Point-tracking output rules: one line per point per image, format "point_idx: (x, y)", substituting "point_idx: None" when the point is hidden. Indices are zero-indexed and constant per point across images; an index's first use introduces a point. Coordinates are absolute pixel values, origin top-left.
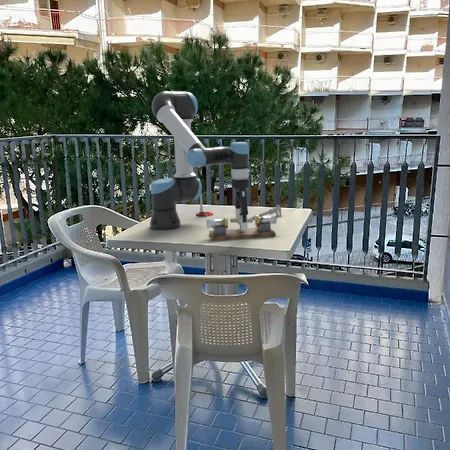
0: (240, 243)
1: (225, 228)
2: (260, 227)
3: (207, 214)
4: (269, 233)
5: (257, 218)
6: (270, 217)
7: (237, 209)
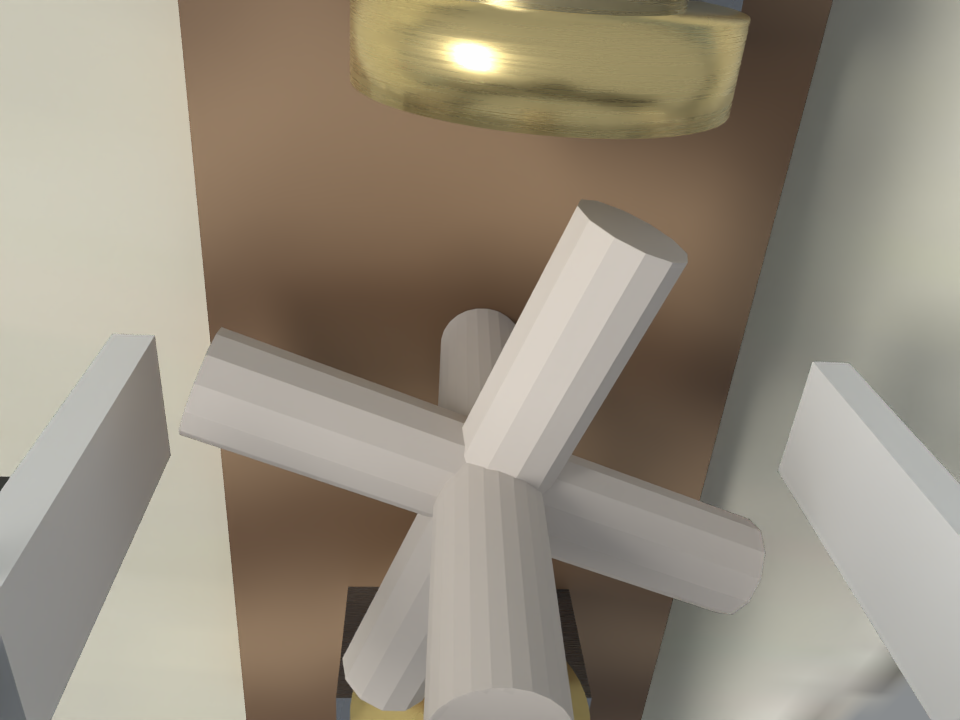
0: (949, 431)
1: (583, 677)
2: None
3: None
4: None
5: (723, 97)
6: None
7: (33, 706)
